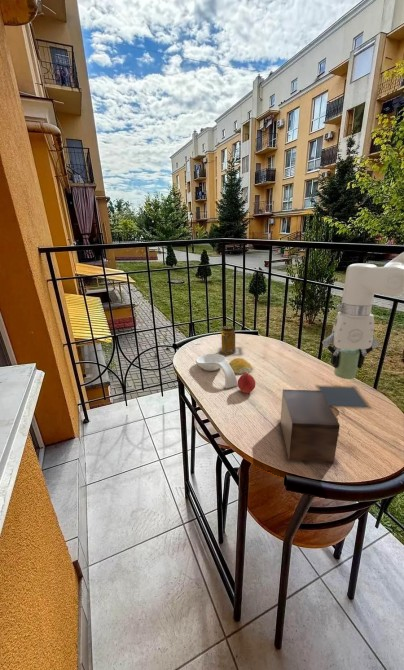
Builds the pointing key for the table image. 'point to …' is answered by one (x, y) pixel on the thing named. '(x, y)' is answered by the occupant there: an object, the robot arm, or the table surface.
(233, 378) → the spoon rest
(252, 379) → the onion
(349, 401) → the mat
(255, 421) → the table surface
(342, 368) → the tea tin
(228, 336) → the condiment
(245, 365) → the bread roll
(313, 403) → the brown block
